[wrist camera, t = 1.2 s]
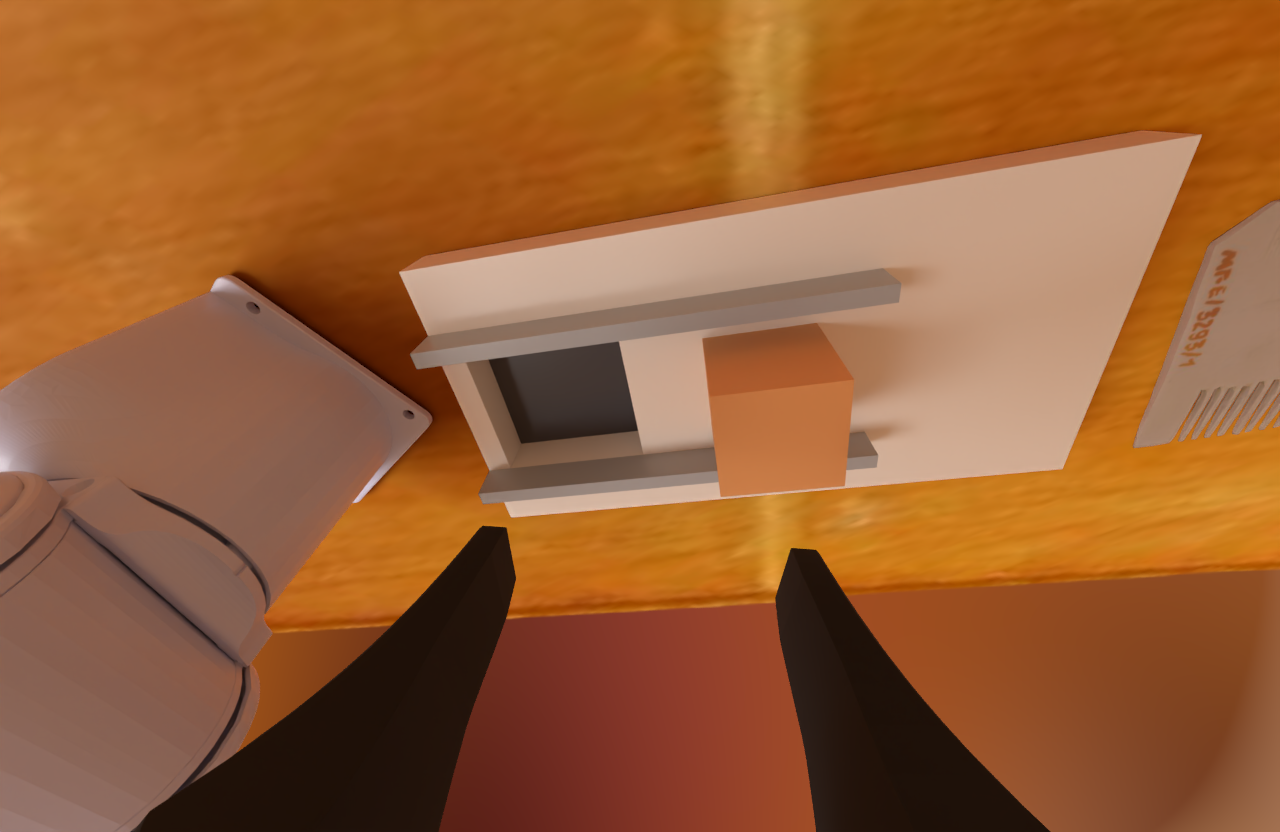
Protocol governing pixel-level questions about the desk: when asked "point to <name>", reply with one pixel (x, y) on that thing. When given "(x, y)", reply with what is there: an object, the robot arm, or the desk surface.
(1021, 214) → the trough
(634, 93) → the desk surface
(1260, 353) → the grooming comb
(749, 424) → the block
